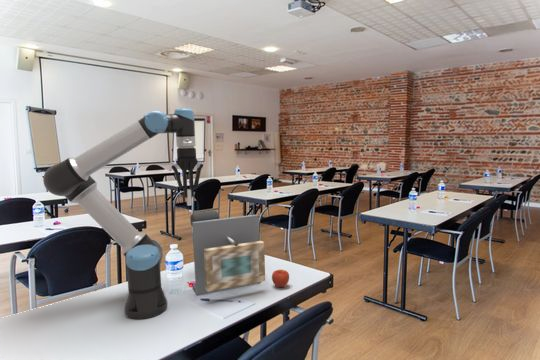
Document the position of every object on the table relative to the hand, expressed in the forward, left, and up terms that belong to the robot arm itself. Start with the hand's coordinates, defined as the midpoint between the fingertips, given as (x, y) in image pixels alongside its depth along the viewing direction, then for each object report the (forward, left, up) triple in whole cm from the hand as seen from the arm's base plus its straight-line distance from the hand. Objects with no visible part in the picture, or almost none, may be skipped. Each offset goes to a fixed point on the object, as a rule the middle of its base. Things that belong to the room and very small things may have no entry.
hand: (189, 205), depth 150 cm
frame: (+14, -15, -31) cm, 38 cm away
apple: (+34, -14, -37) cm, 52 cm away
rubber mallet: (+10, +16, -37) cm, 41 cm away
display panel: (+14, -5, -36) cm, 39 cm away
